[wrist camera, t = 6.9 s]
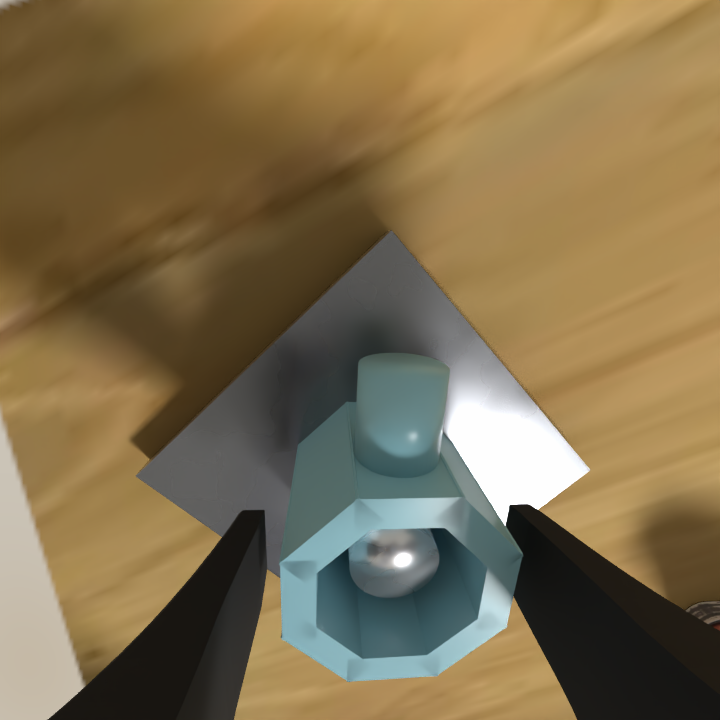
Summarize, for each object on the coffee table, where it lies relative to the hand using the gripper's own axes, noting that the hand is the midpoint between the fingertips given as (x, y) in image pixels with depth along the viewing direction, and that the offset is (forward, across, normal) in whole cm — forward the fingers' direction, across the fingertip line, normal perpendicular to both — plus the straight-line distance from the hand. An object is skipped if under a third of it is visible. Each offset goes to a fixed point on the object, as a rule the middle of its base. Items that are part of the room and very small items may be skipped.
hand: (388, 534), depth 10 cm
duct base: (+4, 0, 0) cm, 4 cm away
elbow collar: (+3, 0, -1) cm, 3 cm away
